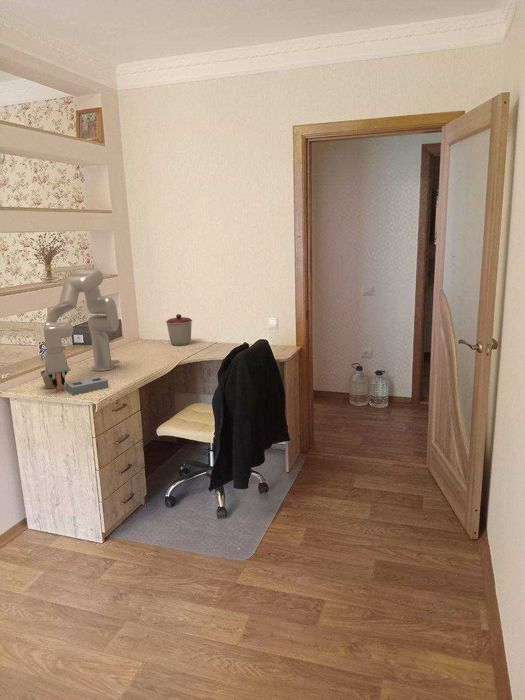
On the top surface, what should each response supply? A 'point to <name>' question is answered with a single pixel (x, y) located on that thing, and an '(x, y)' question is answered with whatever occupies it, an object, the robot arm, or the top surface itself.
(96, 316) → the robot arm
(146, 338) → the top surface
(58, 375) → the peg
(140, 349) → the top surface
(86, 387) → the socket block
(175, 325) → the canister
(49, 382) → the flower pot
